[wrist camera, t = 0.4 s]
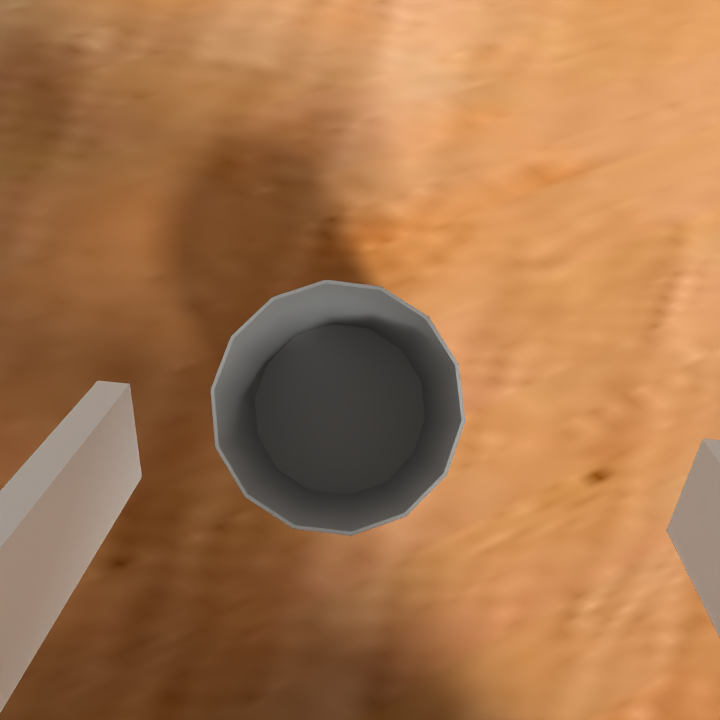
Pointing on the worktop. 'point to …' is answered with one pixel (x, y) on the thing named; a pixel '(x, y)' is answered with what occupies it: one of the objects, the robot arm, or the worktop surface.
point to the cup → (337, 407)
